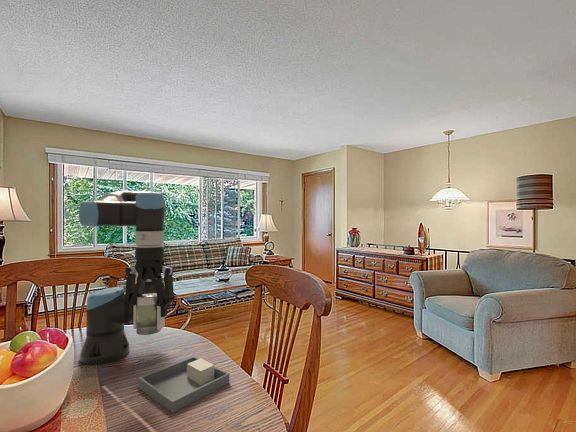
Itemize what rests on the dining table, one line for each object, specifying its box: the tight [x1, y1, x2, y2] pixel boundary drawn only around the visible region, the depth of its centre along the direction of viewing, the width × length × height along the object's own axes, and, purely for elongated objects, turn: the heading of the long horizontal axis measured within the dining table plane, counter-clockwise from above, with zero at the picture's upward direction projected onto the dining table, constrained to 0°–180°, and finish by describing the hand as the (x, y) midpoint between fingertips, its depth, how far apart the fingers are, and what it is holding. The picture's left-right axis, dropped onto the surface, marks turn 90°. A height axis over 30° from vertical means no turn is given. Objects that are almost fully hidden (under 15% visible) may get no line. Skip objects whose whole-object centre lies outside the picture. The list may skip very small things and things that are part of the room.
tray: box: [137, 355, 230, 414], centre depth 88 cm, size 18×18×4 cm
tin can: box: [135, 293, 162, 336], centre depth 87 cm, size 6×6×10 cm
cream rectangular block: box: [187, 358, 215, 385], centre depth 93 cm, size 7×5×4 cm
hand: (149, 327), depth 87 cm, fingers closed on tin can, 6 cm apart
